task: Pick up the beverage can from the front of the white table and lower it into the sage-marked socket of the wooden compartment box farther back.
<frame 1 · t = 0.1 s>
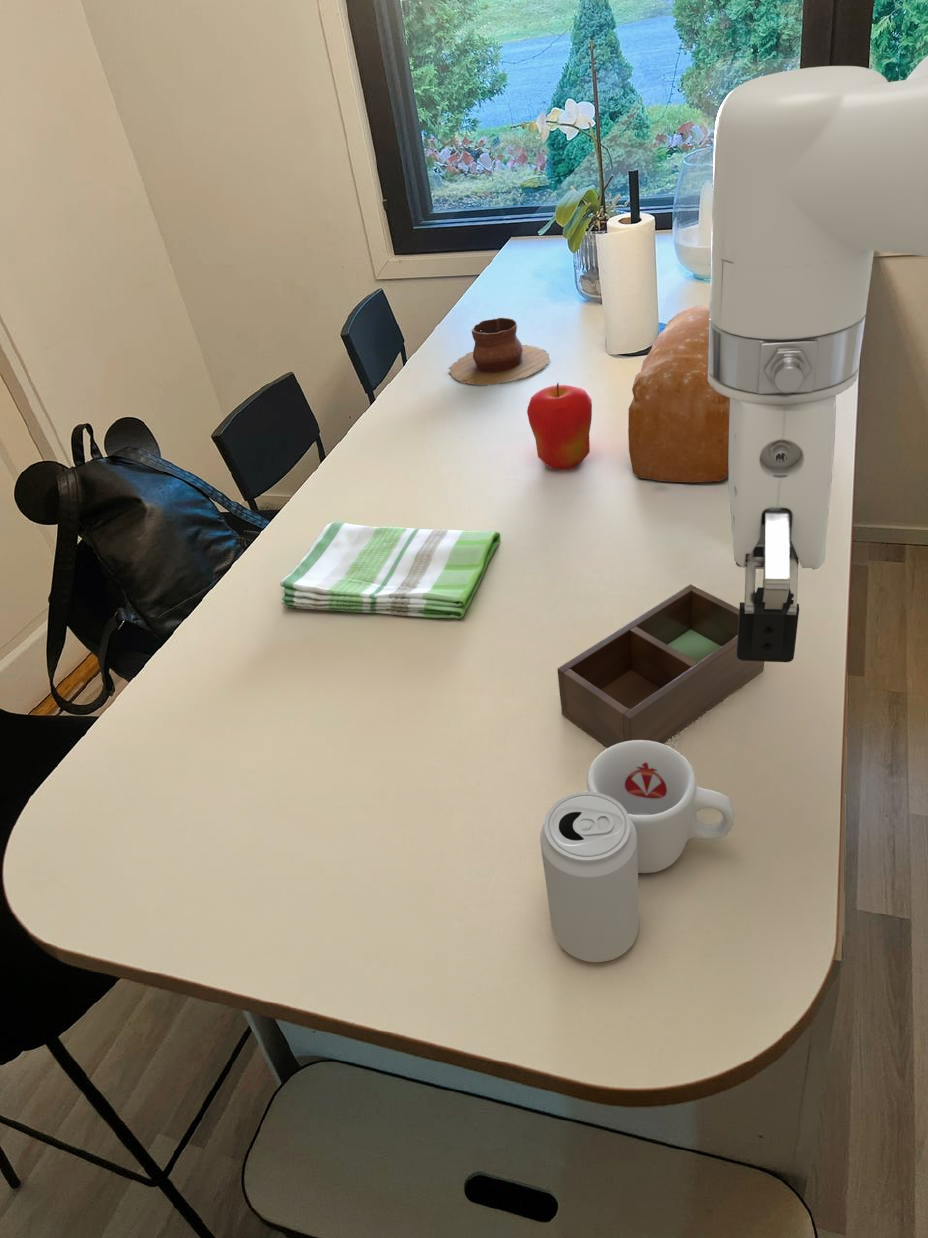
hand: (762, 608, 56), 22 cm above the table, tool pointing down, fingers open, 9 cm apart
dish towel: (394, 575, 106), on the table
wooden compartment box: (663, 692, 83), on the table
bread: (695, 439, 122), on the table
ceramic pot: (499, 365, 154), on the table
cup: (660, 849, 69), on the table
beverage can: (596, 929, 64), on the table
apple: (564, 463, 122), on the table
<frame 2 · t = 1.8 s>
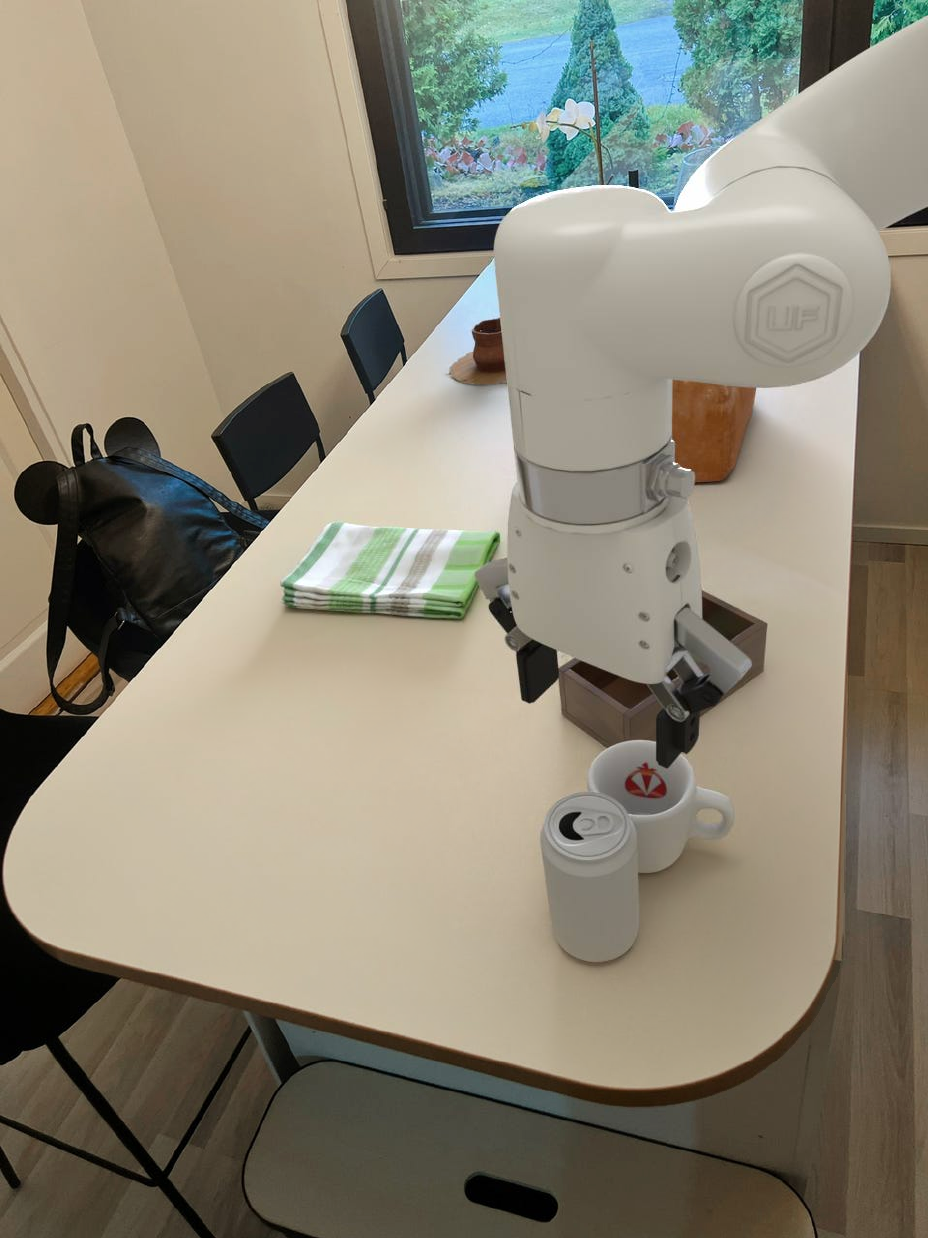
hand: (604, 719, 53), 20 cm above the table, tool pointing down, fingers open, 9 cm apart
nothing on the table moved.
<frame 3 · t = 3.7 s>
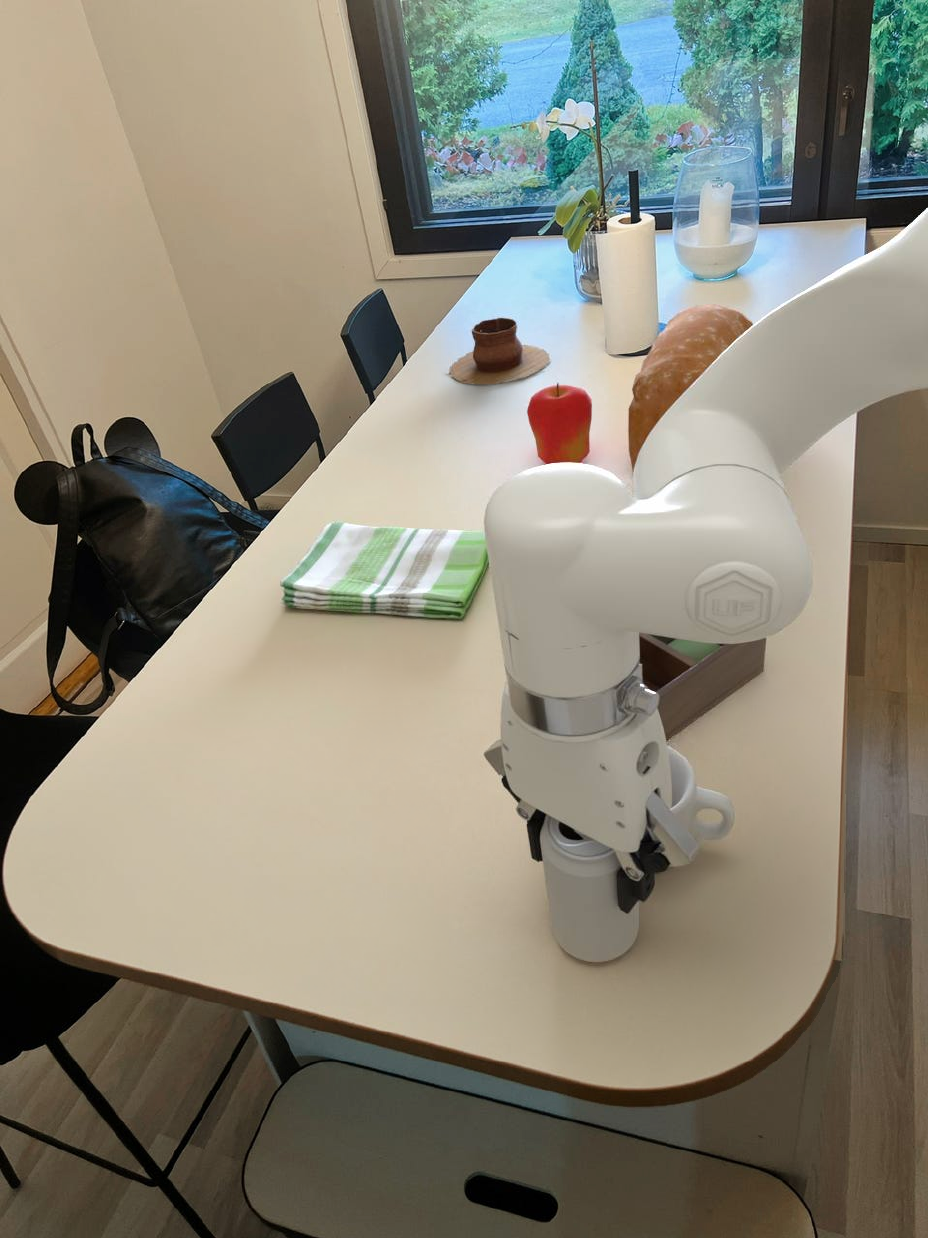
hand: (590, 869, 60), 7 cm above the table, tool pointing down, fingers closed on beverage can, 6 cm apart
beverage can: (595, 929, 64), on the table, touching gripper
everything else where it was.
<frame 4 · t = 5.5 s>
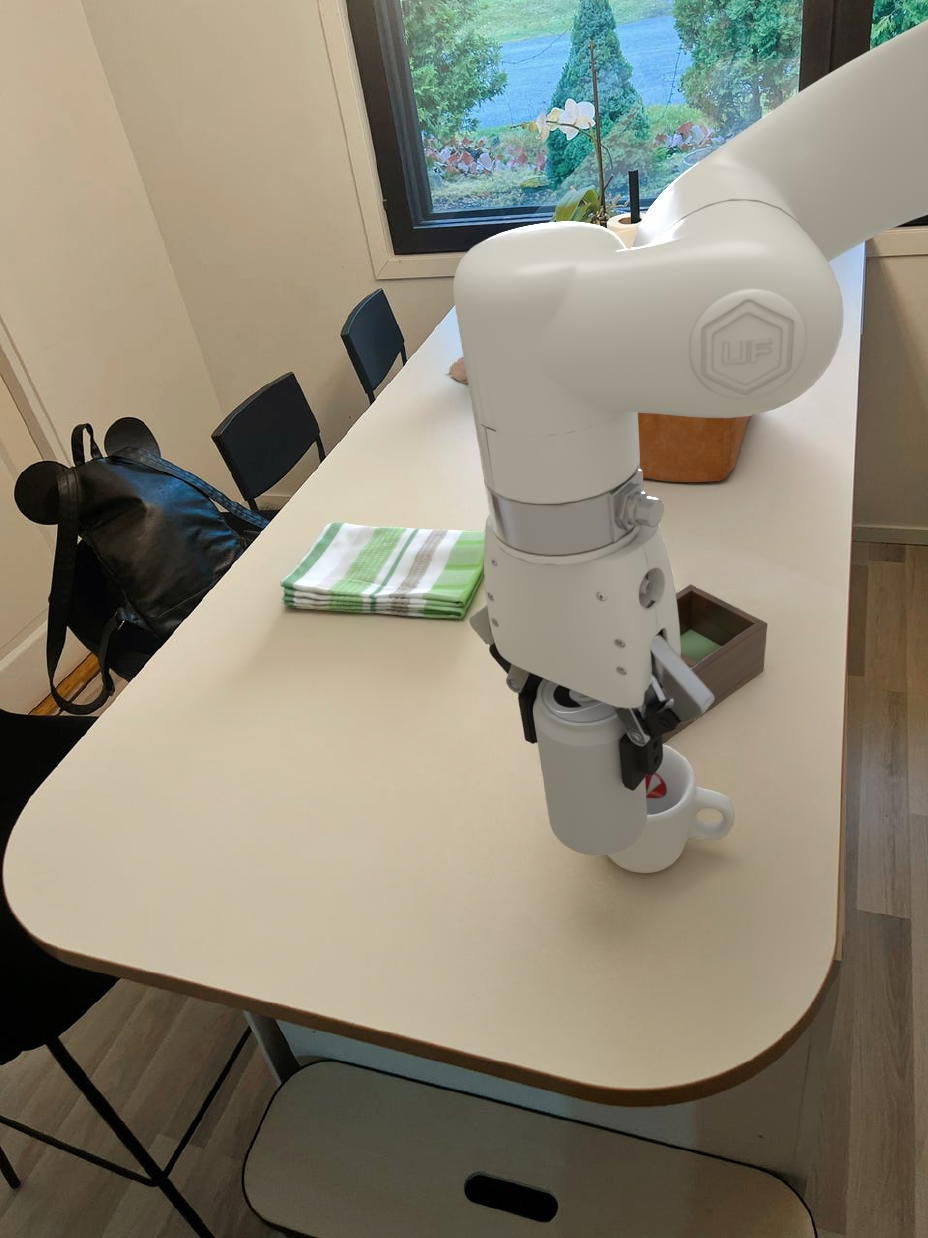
hand: (590, 748, 54), 18 cm above the table, tool pointing down, fingers closed on beverage can, 6 cm apart
beverage can: (599, 825, 58), point 11 cm above the table, touching gripper
everything else where it was.
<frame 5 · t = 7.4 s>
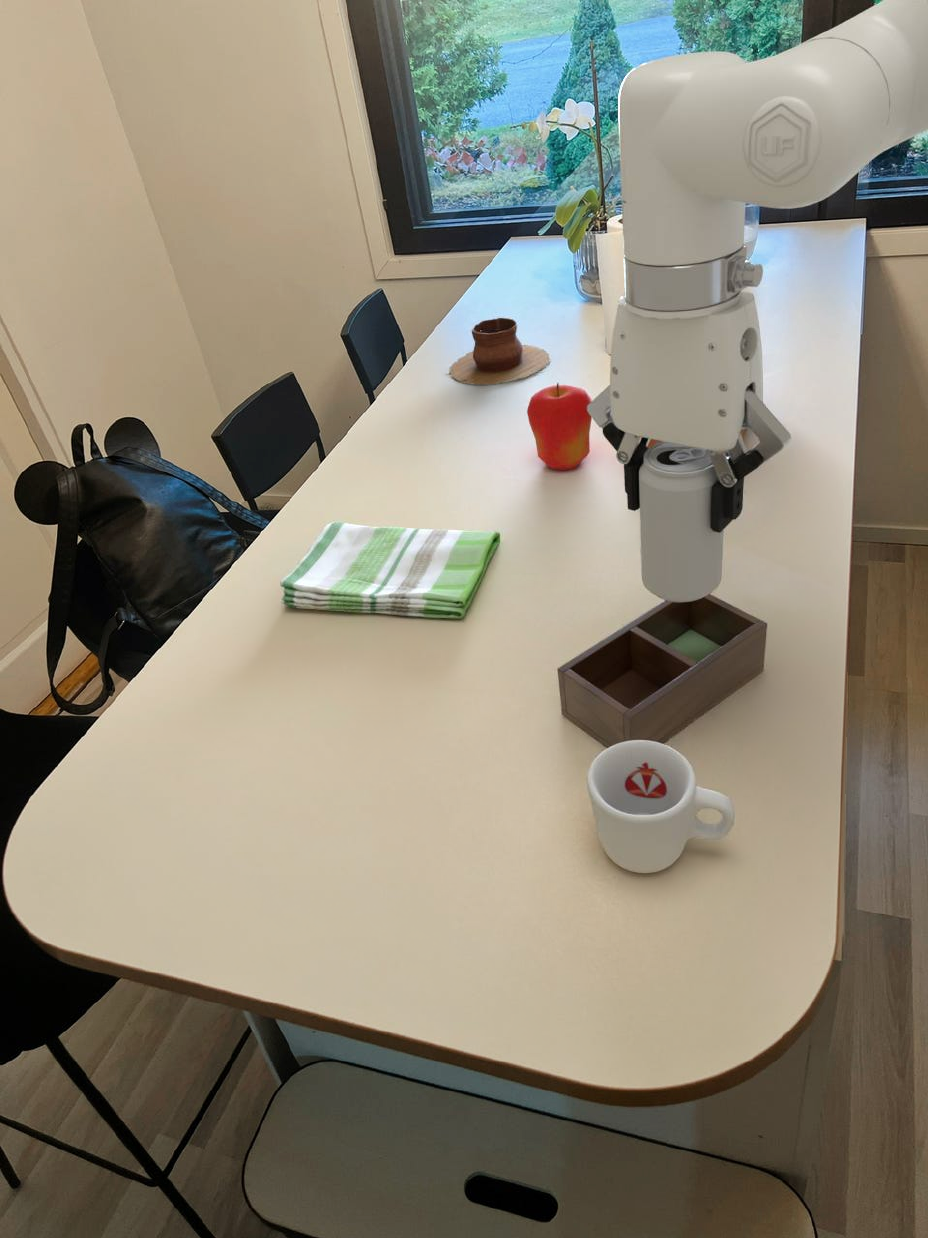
hand: (681, 510, 68), 21 cm above the table, tool pointing down, fingers closed on beverage can, 6 cm apart
beverage can: (681, 586, 72), point 14 cm above the table, touching gripper
everything else where it was.
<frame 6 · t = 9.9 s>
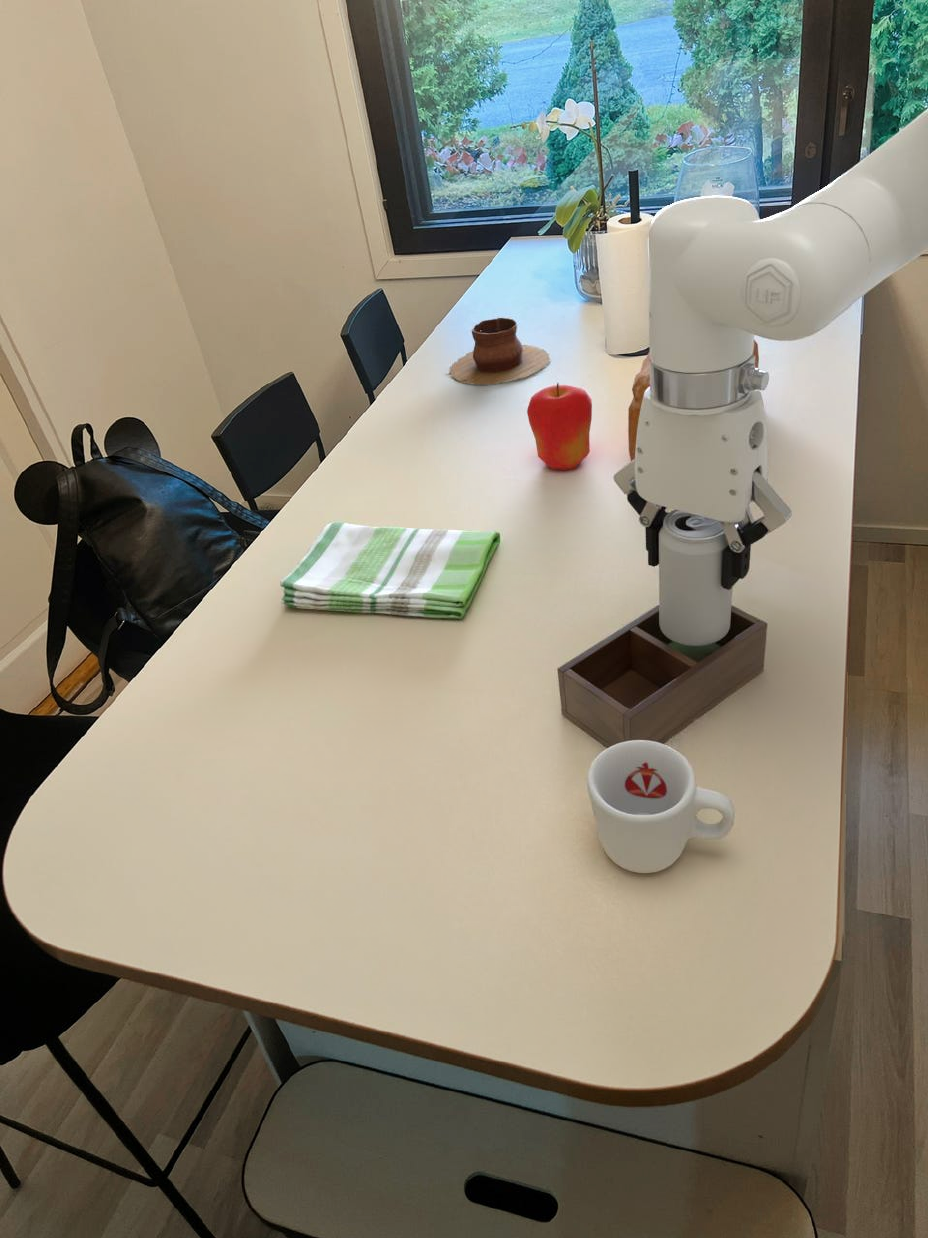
hand: (695, 568, 77), 12 cm above the table, tool pointing down, fingers closed on beverage can, 6 cm apart
beverage can: (694, 631, 82), point 5 cm above the table, touching gripper
everything else where it was.
when the fingers open (8 cm above the table, at t = 11.5 s): beverage can stays where it is, resting on wooden compartment box.
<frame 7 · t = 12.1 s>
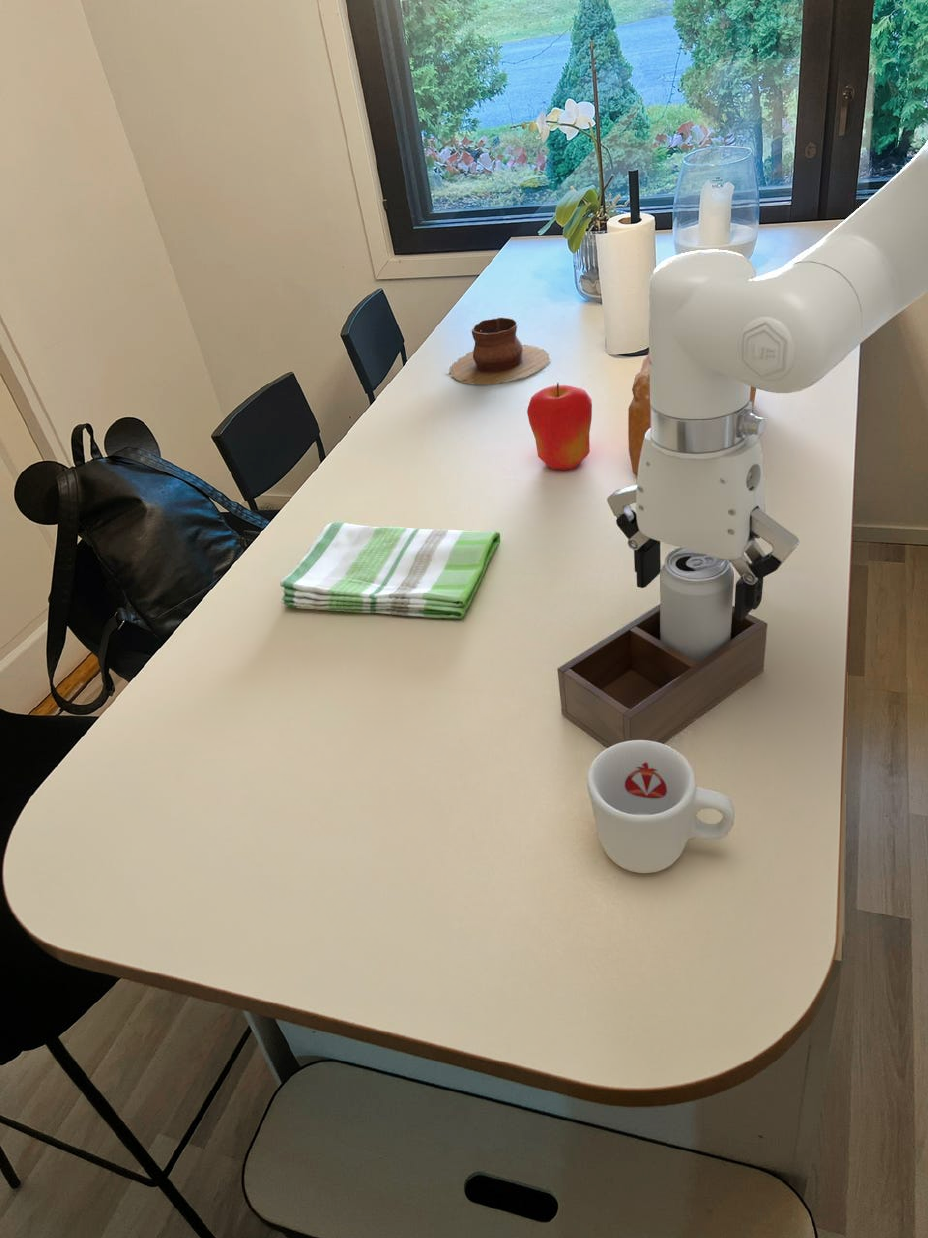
hand: (695, 595, 79), 9 cm above the table, tool pointing down, fingers open, 9 cm apart
beverage can: (694, 665, 84), point 1 cm above the table, touching wooden compartment box
everything else where it was.
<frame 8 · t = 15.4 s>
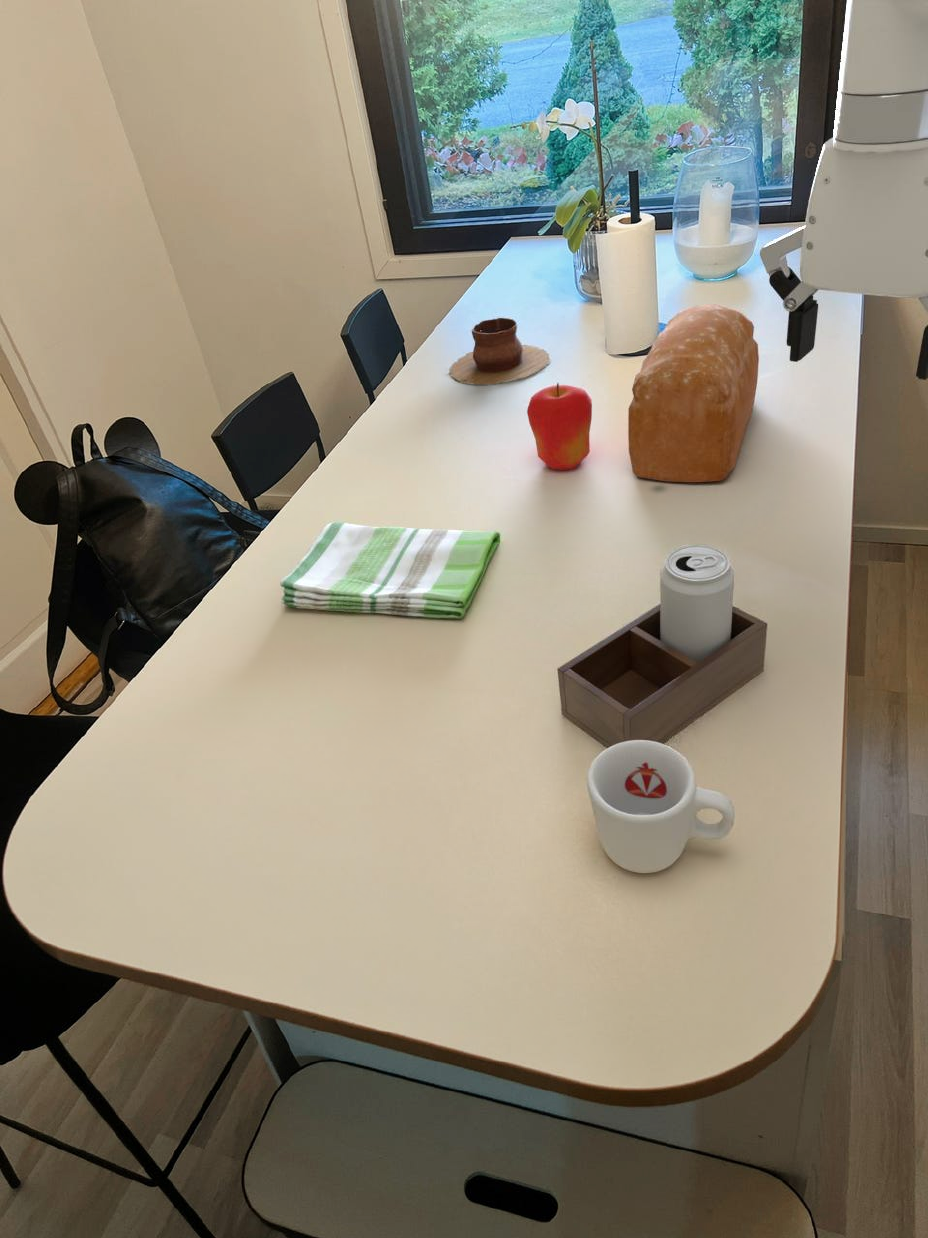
hand: (862, 363, 68), 28 cm above the table, tool pointing down, fingers open, 9 cm apart
nothing on the table moved.
at the end: beverage can 0.1 cm from the target spot in the wooden compartment box, point 0.8 cm above the wooden compartment box's base; beverage can tilted 0° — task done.
